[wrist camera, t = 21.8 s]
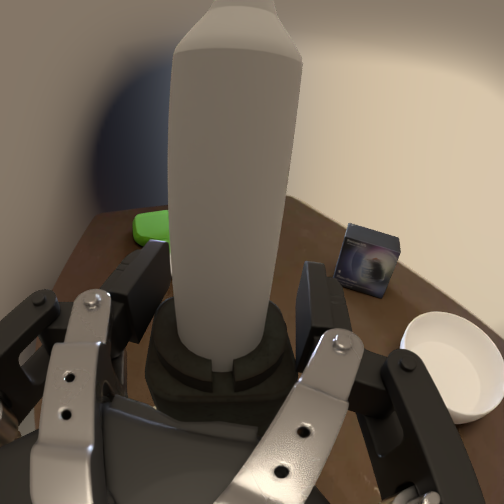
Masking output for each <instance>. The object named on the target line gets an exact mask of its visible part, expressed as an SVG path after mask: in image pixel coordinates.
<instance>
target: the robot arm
mask: <svg viewBox="0 0 504 504" xmlns="http://www.w3.org/2000/svg"><path fill="white" fill-rule="evenodd" d="M170 282H171V264H170V249H169V243H168V242H166V241H159V240H149V241H148V242H147V243H146V244H145V246H144V247H143V248H142V249H141V250H138V249H137V250H135V251H134V252H132V253H130V254H128V255H127V256H126V257H125V258H124V260H123V261H122V262H121V264H119V265H118V267H117V268H116V270H114V271H113V273H112V274H111V275H110V276H109V277H108V279H107V280H106V281H105V282H104V284H103V285H102V286H101V287H100V289H92V290H88V291H85V292H83V293H81V294H80V295H79V296H78V297H77V298H76V299H75V301H74V302H58V300H57V297H56V295H55V293H54V292H53V291H51V290H46V289H44V290H39V291H36V292H34V293H33V294H31V295H30V296H29V297H27V298H26V299H25V300H24V301H23V302H22V303H20V304H19V305H18V306H17V307H16V308H15V309H14V310H12V311H11V312H10V313H9V314H8V315H7V316H5V317H4V318H3V319H2V320H1V321H0V504H330V503H329V502H328V500H327V499H326V498H325V497H324V496H323V495H322V493H321V492H320V491H319V490H318V489H317V487H316V486H315V483H316V481H317V479H318V477H319V475H320V473H321V471H322V468H323V466H324V464H325V462H326V460H327V458H328V456H329V453H330V451H331V449H332V447H333V444H334V442H335V440H336V437H337V435H338V433H339V430H340V428H341V425H342V423H343V420H344V418H345V415H346V413H347V410H350V411H353V412H356V415H357V418H358V422H359V425H360V428H361V431H362V434H363V437H364V440H365V444H366V447H367V450H368V453H369V457H370V460H371V463H372V467H373V470H374V474H375V477H376V481H377V484H378V488H379V491H380V495H381V499H382V501H381V502H380V503H379V504H485V501H484V497H483V494H482V491H481V488H480V485H479V483H478V480H477V477H476V474H475V472H474V469H473V466H472V464H471V461H470V459H469V456H468V454H467V451H466V449H465V447H464V444H463V442H462V440H461V437H460V435H459V433H458V430H457V428H456V426H455V424H454V422H453V420H452V417H451V415H450V413H449V411H448V409H447V407H446V405H445V403H444V401H443V399H442V397H441V395H440V393H439V391H438V389H437V387H436V385H435V383H434V381H433V379H432V377H431V375H430V374H429V372H428V370H427V368H426V366H425V364H424V363H423V361H422V359H421V358H420V357H419V356H418V355H417V354H415V353H414V352H412V351H410V350H407V349H396V350H394V351H392V352H391V353H390V354H389V356H388V357H385V356H382V355H379V354H376V353H373V352H370V351H368V350H366V349H365V348H364V346H363V343H362V341H361V339H360V338H359V337H358V336H357V335H356V334H354V333H353V332H352V328H351V323H350V318H349V314H348V309H347V305H346V300H345V297H344V292H343V287H342V285H341V284H340V283H339V282H338V281H337V279H336V278H333V277H327V276H326V270H325V265H324V263H316V262H309V261H305V263H304V267H303V271H302V276H301V280H300V284H299V288H298V293H297V298H296V372H300V373H302V375H301V377H300V379H299V380H298V381H296V383H295V384H294V386H293V388H292V389H291V391H290V393H289V395H288V396H287V398H286V400H285V401H284V403H283V405H282V406H281V408H280V410H279V411H278V413H277V415H276V416H275V418H274V420H273V421H272V423H271V424H270V426H269V428H268V429H267V431H266V432H265V434H264V435H263V437H260V436H257V433H258V427H257V426H249V425H241V424H235V423H228V422H222V421H212V422H181V421H178V420H175V419H174V418H172V417H170V416H168V415H166V414H164V413H162V412H160V411H158V410H157V409H155V408H153V407H151V406H149V405H148V404H145V403H142V402H138V401H135V400H132V399H129V398H128V395H127V351H126V348H125V347H126V345H127V343H128V342H129V341H130V342H133V343H137V344H139V343H140V341H141V339H142V337H143V335H144V333H145V331H146V329H147V327H148V325H149V323H150V321H151V320H152V318H153V316H154V314H155V312H156V310H157V308H158V306H159V305H160V303H161V301H162V299H163V297H164V295H165V294H166V292H167V290H168V288H169V286H170ZM37 336H38V337H39V339H40V341H41V343H42V346H41V347H40V348H39V349H38V350H37V351H36V352H35V353H34V354H33V355H32V356H31V357H30V358H29V359H28V360H27V361H26V362H25V363H24V365H22V366H20V365H19V361H18V359H19V355H20V353H21V352H22V351H23V350H24V349H25V348H26V347H27V346H28V345H29V344H30V343H31V342H32V341H33V340H34V339H35V338H36V337H37ZM42 397H43V400H42V407H41V415H40V425H39V429H37V430H35V431H33V432H31V433H29V434H27V435H25V436H22V437H21V434H20V432H19V431H18V426H19V425H20V423H21V422H22V421H23V420H24V418H25V417H26V416H27V415H28V413H29V412H30V411H31V409H33V408H34V406H35V405H36V404H37V403H38V401H39V400H40V399H41V398H42Z"/></svg>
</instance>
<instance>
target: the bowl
mask: <svg viewBox="0 0 504 504" xmlns="http://www.w3.org/2000/svg"><path fill="white" fill-rule="evenodd" d="M400 349H407V350H410V351H412V352H414V353H415V354H417V355H418V356H419V357H420V358H421V359H422V361H423V363H424V364H425V366H426V368H427V370H428V372H429V374H430V375H431V377H432V379H433V381H434V383H435V385H436V387H437V389H438V391H439V393H440V395H441V397H442V399H443V401H444V403H445V405H446V407H447V409H448V411H449V413H450V415H451V417H452V420H453V422H454V424H463V423H469V422H472V421H475V420H477V419H479V418H481V417H483V416H485V415H487V414H488V413H489V412H491V411H492V410H493V409H494V408H495V407H497V406H498V405H499V404H500V402H501V400H502V398H503V397H504V360H503V358H502V356H501V354H500V352H499V350H498V348H497V347H496V345H495V344H494V342H493V341H492V340H491V339H490V338H489V337H488V335H486V334H485V333H484V332H483V331H482V330H481V329H480V328H478V327H477V326H476V325H474V324H473V323H471V322H470V321H468V320H466V319H464V318H462V317H459V316H457V315H454V314H450V313H446V312H428V313H425V314H422V315H420V316H418V317H416V318H414V319H413V320H412V321H411V323H410V324H409V325H408V327H407V329H406V331H405V333H404V335H403V338H402V340H401V345H400Z"/></svg>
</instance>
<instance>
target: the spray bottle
mask: <svg viewBox="0 0 504 504" xmlns="http://www.w3.org/2000/svg"><path fill="white" fill-rule="evenodd" d="M133 237H134V240H135V241H136V242H137V243H138V244H139V245H141V246H143V247H144V246H145V244H146V243H147V242H148V241H149V240H159V241H166V242H168V243H169V249H170V235H169V211H168V210H164V211H157V212H149V213H142V214H138V215H137V216H136V217H135V218H134V221H133ZM170 264H171V253H170ZM171 276H172V268H171Z"/></svg>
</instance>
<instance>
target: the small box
mask: <svg viewBox="0 0 504 504" xmlns="http://www.w3.org/2000/svg"><path fill="white" fill-rule="evenodd" d="M400 253H401V251H400V242H399V238H398V237H395V236H391V235H388V234H385V233H382V232H378V231H375V230H371V229H368V228H365V227H362V226H358V225H355V224H351V223H348V227H347V230H346V234H345V237H344V241H343V244H342V248H341V251H340V255H339V258H338V262H337V265H336V269H335V273H334V276H333V278H336V279H337V281H338V282H339V283H340V284H341V285H342V286H343V287H346V288H349V289H352V290H356V291H359V292H362V293H365V294H369V295H372V296H375V297H378V298H381V299H382V297H383V295H384V292H385V290H386V288H387V285H388V283H389V281H390V278H391V276H392V273H393V271H394V268H395V266H396V263H397V261H398V258H399V255H400Z"/></svg>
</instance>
